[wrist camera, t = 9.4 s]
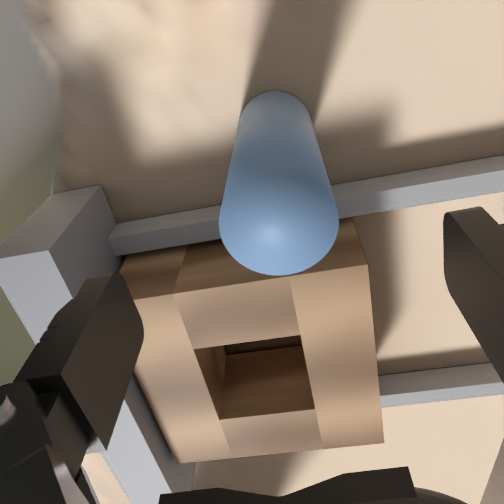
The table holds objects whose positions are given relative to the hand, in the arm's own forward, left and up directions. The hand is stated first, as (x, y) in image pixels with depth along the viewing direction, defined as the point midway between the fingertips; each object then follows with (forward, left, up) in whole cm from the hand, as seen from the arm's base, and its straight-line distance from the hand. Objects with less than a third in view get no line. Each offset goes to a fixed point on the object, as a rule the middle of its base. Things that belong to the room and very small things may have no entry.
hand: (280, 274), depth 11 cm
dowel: (-1, 0, -10) cm, 10 cm away
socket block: (+9, -3, -10) cm, 14 cm away
